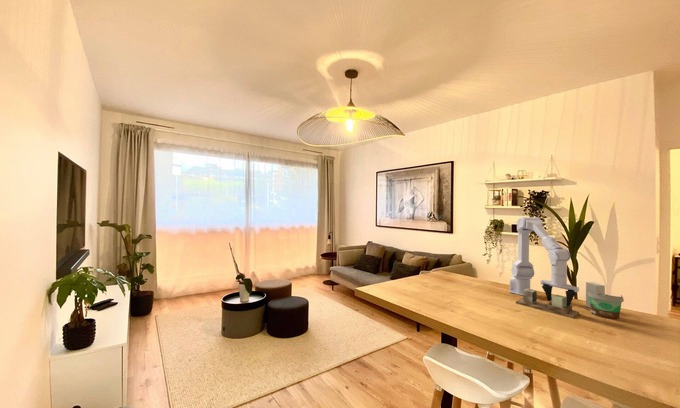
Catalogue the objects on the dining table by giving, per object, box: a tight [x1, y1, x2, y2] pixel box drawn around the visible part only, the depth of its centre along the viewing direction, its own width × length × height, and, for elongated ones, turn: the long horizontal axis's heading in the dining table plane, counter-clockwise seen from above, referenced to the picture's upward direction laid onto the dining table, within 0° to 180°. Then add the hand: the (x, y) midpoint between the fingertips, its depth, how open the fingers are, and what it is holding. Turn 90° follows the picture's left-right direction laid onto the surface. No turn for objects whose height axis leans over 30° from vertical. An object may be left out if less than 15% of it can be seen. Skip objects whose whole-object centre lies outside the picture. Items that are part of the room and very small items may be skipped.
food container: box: [587, 292, 625, 320], centre depth 124 cm, size 12×6×10 cm, turn 62°
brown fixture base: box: [515, 288, 580, 319], centre depth 134 cm, size 23×9×7 cm, turn 36°
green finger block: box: [550, 294, 567, 309], centre depth 130 cm, size 4×5×6 cm
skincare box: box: [585, 281, 606, 309], centre depth 135 cm, size 6×4×12 cm
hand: (558, 303), depth 130 cm, fingers open, 7 cm apart
